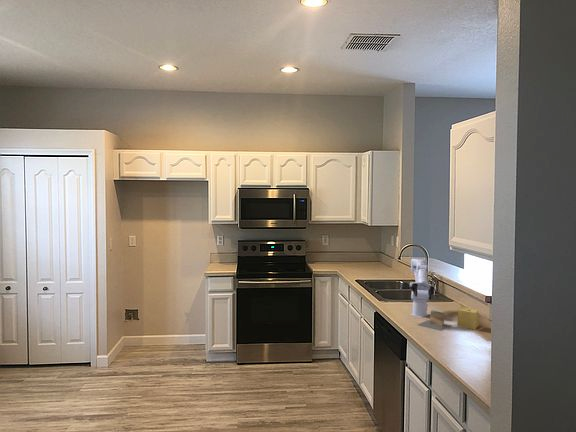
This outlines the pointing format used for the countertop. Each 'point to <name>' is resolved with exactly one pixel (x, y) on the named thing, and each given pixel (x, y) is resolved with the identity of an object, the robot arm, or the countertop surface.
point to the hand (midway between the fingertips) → (423, 296)
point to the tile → (437, 318)
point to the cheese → (468, 318)
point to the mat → (433, 326)
